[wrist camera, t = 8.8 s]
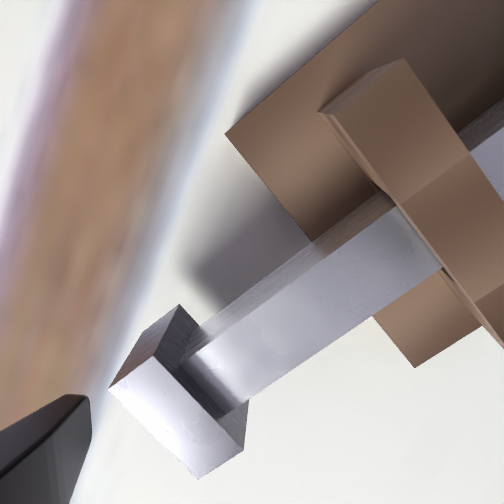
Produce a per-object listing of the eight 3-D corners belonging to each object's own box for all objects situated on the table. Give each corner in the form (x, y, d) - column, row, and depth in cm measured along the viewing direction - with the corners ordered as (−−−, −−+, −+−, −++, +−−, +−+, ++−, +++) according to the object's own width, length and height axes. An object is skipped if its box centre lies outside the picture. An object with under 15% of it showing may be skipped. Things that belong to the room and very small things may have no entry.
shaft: (814, -7, 14) (1011, -48, 10) (214, 407, 20) (197, 479, 16) (751, -140, 13) (941, -238, 9) (142, 332, 19) (107, 389, 15)
